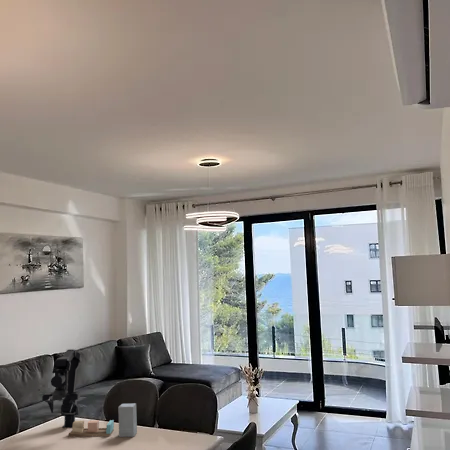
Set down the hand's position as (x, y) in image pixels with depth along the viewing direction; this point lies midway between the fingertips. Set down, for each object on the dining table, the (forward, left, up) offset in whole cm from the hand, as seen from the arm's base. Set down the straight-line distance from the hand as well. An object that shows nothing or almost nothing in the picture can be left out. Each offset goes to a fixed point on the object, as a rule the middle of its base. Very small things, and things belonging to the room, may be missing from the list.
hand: (61, 412), depth 245 cm
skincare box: (0, +35, -12) cm, 38 cm away
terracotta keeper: (-4, +16, -11) cm, 20 cm away
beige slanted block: (-4, +8, -11) cm, 14 cm away
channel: (-4, +15, -12) cm, 20 cm away
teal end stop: (-4, +25, -11) cm, 28 cm away
